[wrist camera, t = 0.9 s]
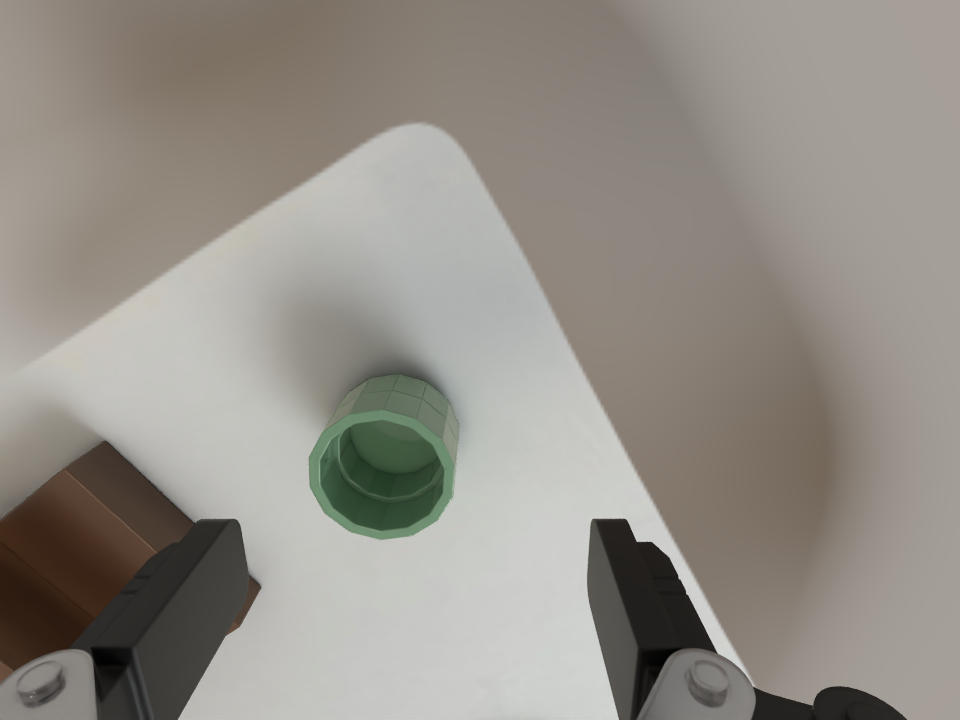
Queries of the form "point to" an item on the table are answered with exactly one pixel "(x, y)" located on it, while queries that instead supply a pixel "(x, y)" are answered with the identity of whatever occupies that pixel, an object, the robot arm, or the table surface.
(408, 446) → the cup
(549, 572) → the table surface
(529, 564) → the table surface
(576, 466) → the table surface
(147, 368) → the table surface
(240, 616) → the wooden stair steps
